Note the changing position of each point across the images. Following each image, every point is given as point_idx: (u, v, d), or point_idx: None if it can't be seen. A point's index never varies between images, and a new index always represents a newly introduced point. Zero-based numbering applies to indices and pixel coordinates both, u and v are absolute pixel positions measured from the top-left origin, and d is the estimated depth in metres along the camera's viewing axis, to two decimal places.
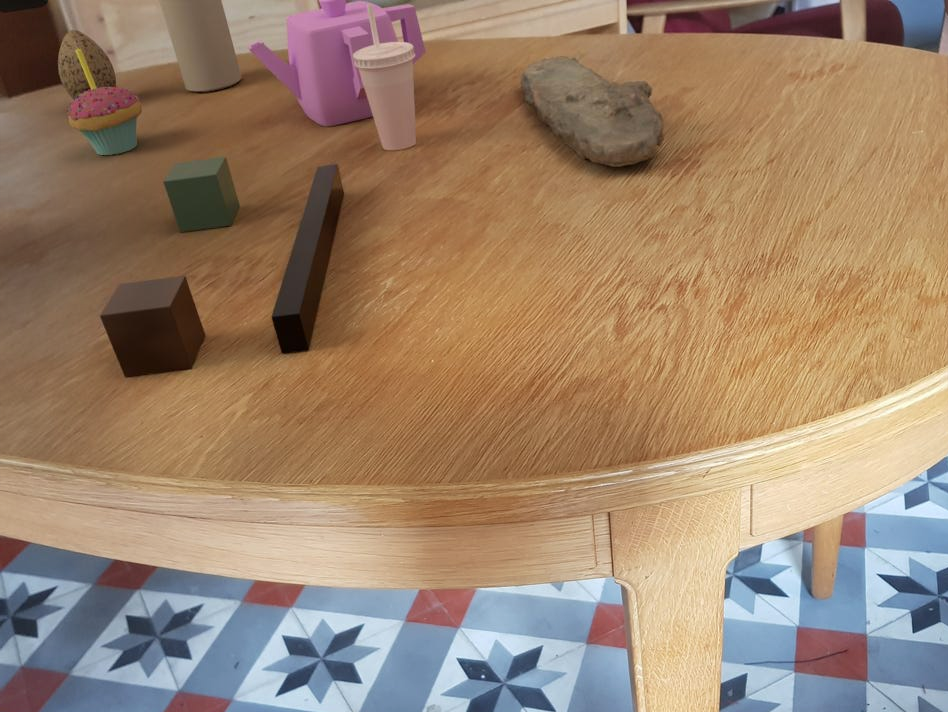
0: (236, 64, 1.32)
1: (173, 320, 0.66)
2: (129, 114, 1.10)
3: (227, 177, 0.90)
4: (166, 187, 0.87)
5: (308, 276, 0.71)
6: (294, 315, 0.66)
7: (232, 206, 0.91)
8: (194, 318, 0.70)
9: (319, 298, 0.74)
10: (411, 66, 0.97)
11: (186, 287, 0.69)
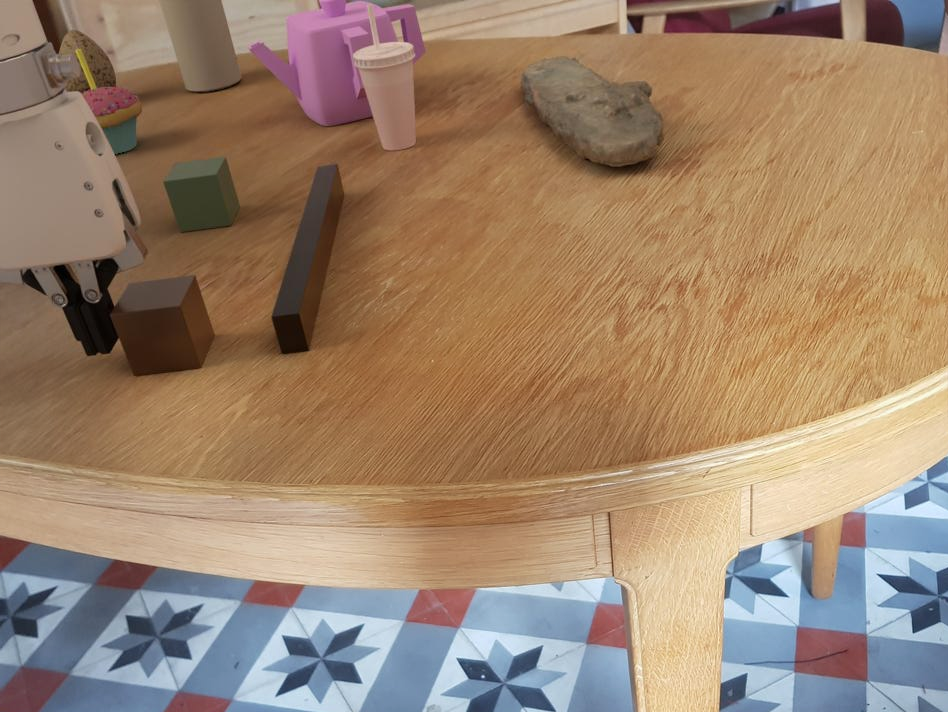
0: (236, 64, 1.32)
1: (183, 319, 0.66)
2: (129, 114, 1.10)
3: (227, 177, 0.90)
4: (166, 187, 0.87)
5: (308, 276, 0.71)
6: (294, 315, 0.66)
7: (232, 206, 0.91)
8: (204, 318, 0.70)
9: (319, 298, 0.74)
10: (411, 66, 0.97)
11: (196, 287, 0.69)
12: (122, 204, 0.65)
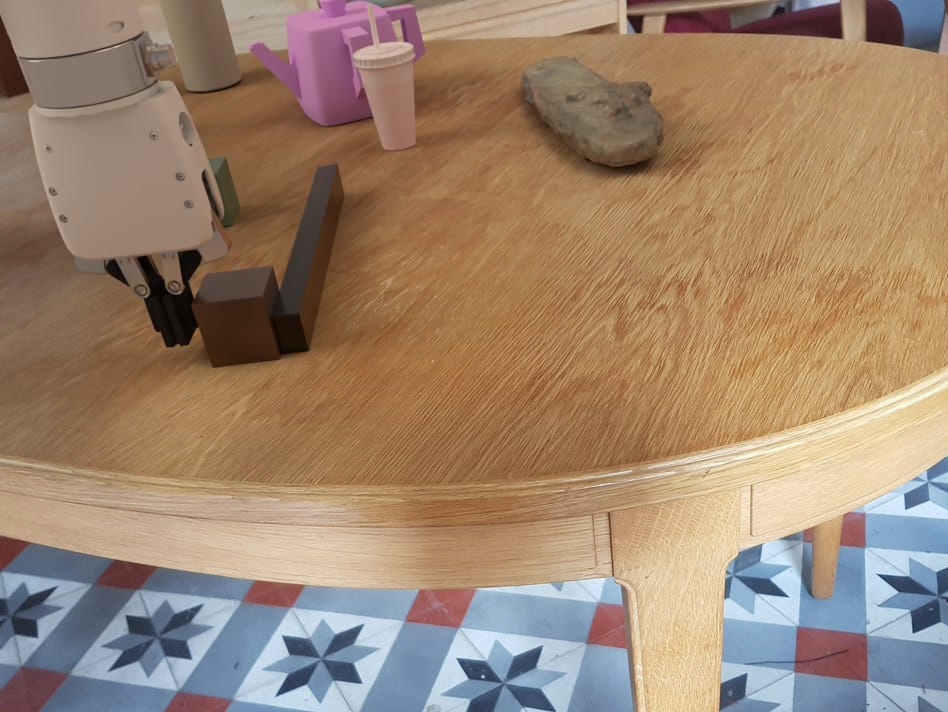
0: (236, 64, 1.32)
1: (264, 310, 0.65)
2: None
3: (227, 177, 0.90)
4: None
5: (308, 276, 0.71)
6: (294, 315, 0.66)
7: (232, 206, 0.91)
8: None
9: (319, 298, 0.74)
10: (411, 66, 0.97)
11: (274, 278, 0.68)
12: (208, 195, 0.64)
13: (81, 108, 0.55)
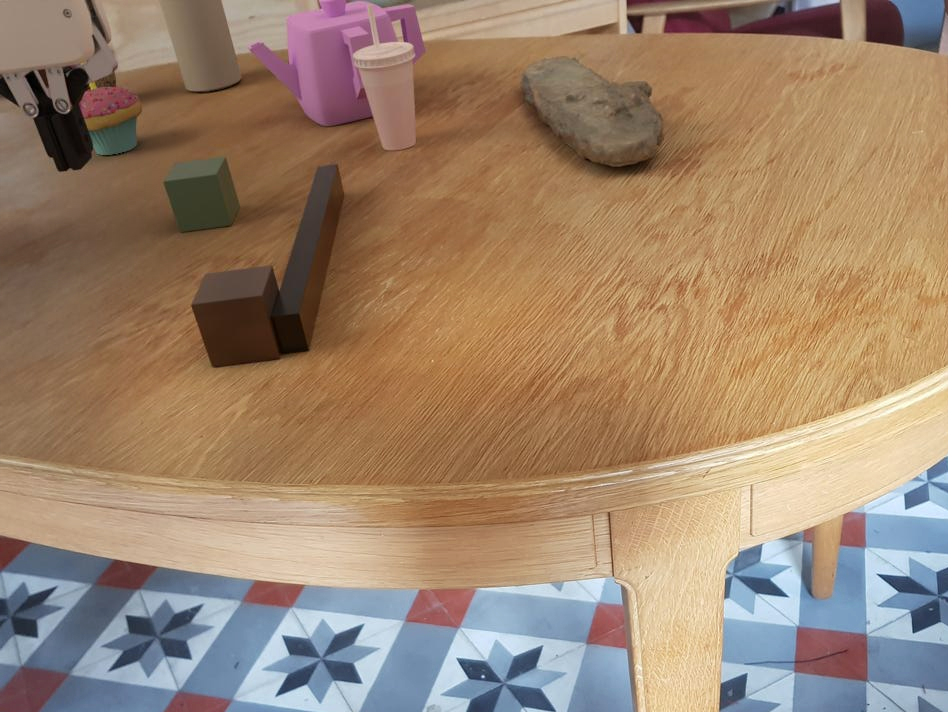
0: (236, 64, 1.32)
1: (264, 309, 0.65)
2: (129, 114, 1.10)
3: (227, 177, 0.90)
4: (166, 187, 0.87)
5: (308, 276, 0.71)
6: (294, 315, 0.66)
7: (232, 206, 0.91)
8: None
9: (319, 298, 0.74)
10: (411, 66, 0.97)
11: (273, 277, 0.68)
12: (92, 14, 0.66)
13: None
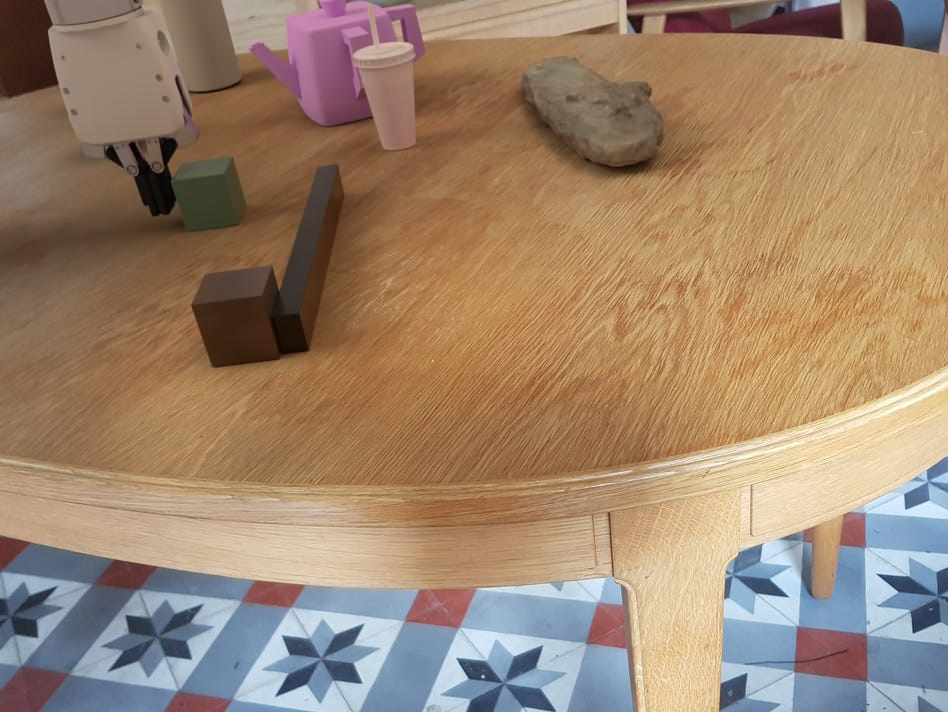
0: (236, 64, 1.32)
1: (264, 309, 0.65)
2: None
3: (234, 177, 0.90)
4: (173, 186, 0.87)
5: (308, 276, 0.71)
6: (294, 315, 0.66)
7: (239, 206, 0.91)
8: None
9: (319, 298, 0.74)
10: (411, 66, 0.97)
11: (273, 277, 0.68)
12: (180, 97, 0.86)
13: (87, 24, 0.78)
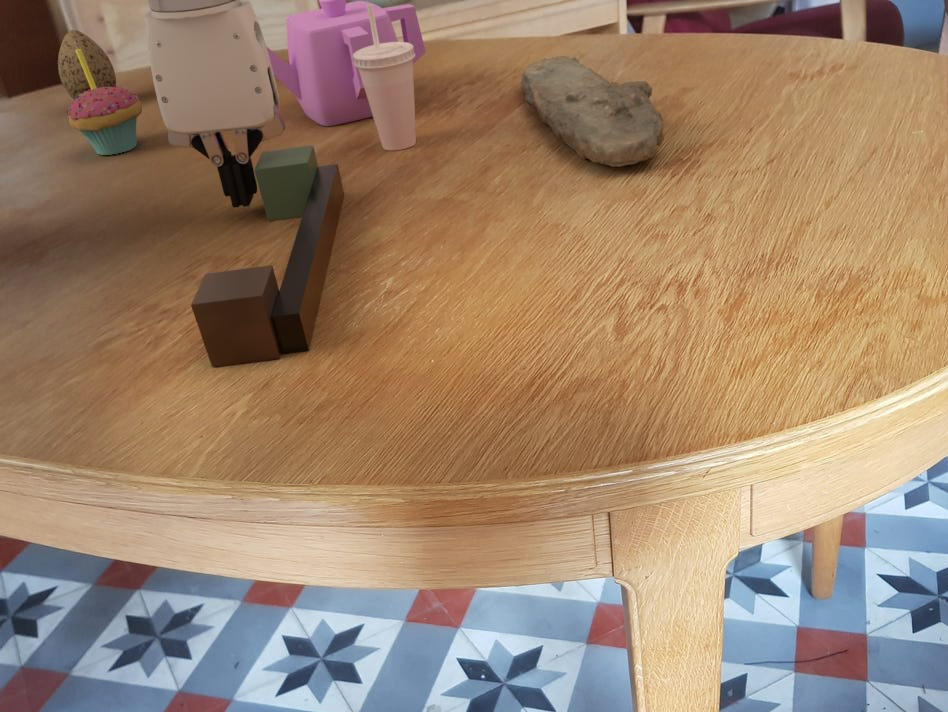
0: None
1: (264, 309, 0.65)
2: (129, 114, 1.10)
3: (315, 166, 0.90)
4: (257, 175, 0.87)
5: (308, 276, 0.71)
6: (294, 315, 0.66)
7: None
8: None
9: (319, 298, 0.74)
10: (411, 66, 0.97)
11: (273, 277, 0.68)
12: None
13: (188, 12, 0.77)
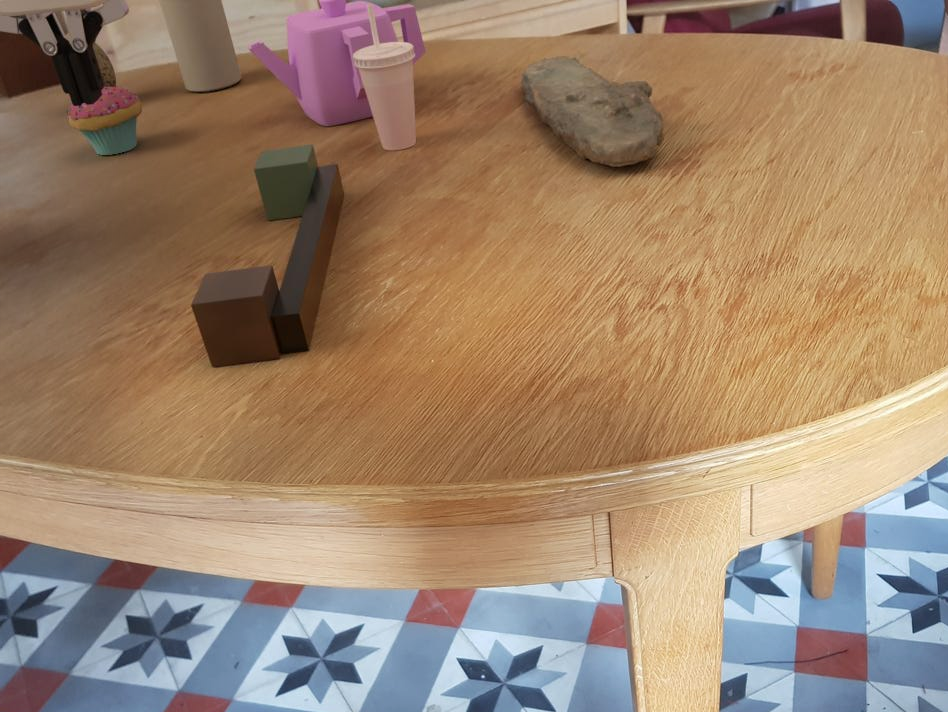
0: (236, 64, 1.32)
1: (264, 309, 0.65)
2: (129, 114, 1.10)
3: (315, 165, 0.90)
4: (256, 175, 0.87)
5: (308, 276, 0.71)
6: (294, 315, 0.66)
7: None
8: None
9: (319, 298, 0.74)
10: (411, 66, 0.97)
11: (273, 277, 0.68)
12: None
13: None
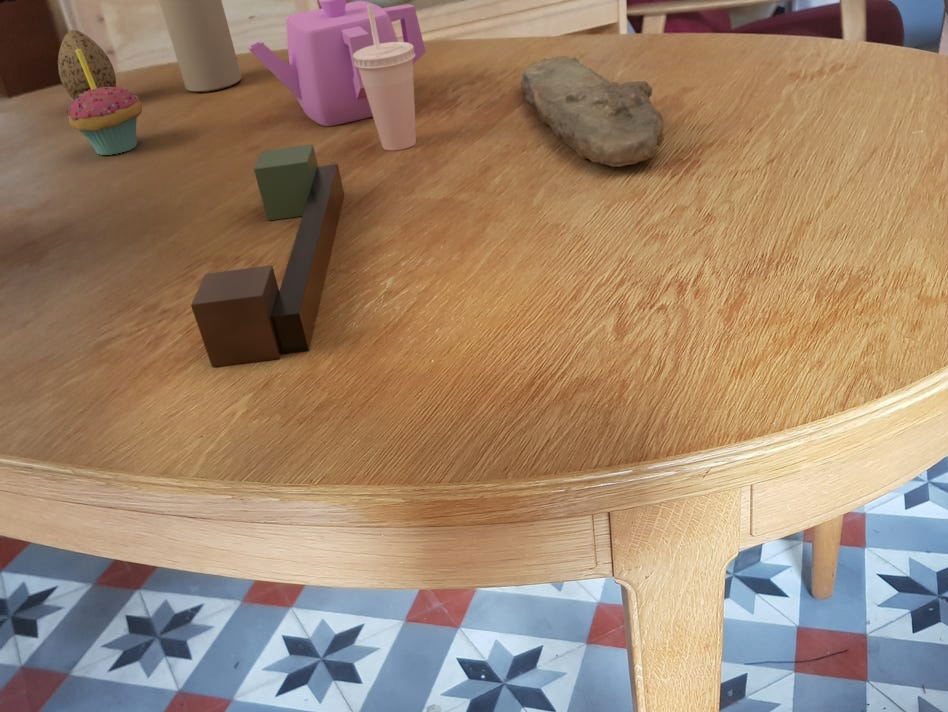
0: (236, 64, 1.32)
1: (264, 309, 0.65)
2: (129, 114, 1.10)
3: (315, 165, 0.90)
4: (256, 175, 0.87)
5: (308, 276, 0.71)
6: (294, 315, 0.66)
7: None
8: None
9: (319, 298, 0.74)
10: (411, 66, 0.97)
11: (273, 277, 0.68)
12: None
13: None
